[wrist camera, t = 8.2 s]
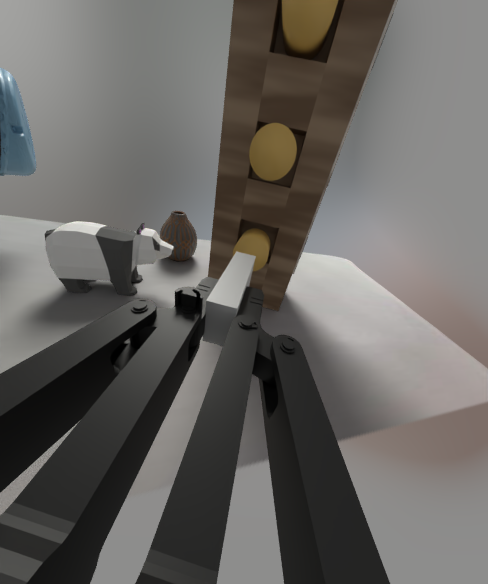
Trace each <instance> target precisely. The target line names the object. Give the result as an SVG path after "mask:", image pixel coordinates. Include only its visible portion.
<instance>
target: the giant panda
mask: <svg viewBox="0 0 488 584" xmlns="http://www.w3.org/2000/svg"><path fill="white" fill-rule="evenodd" d="M45 240H46V252H47V255H48V259H49V263H50V266H51V268H52V269H53V271H54V273H55V274H56V276H57V277H58V279H59V280H60V281H61V282H62V283H63V284H64V286H65V287H66V289H67V291H68V292H74V293H83V292H88V291H90V290H91V287H90V285H88V284H85V283H84V281H83V280H103V281H111V283H112V284H113V285H114V286H115V288H116V291H117V293H118V294H122V295H135V294H136V293H137V289H136V288H135V287H133V286H132V284H131V282H141V281H142V280H143V279H142V276H141V275H138V272H137V265H142V264H153V263H154V262H155V261H157V260H159V259H163V258H166V257H169V256H170V255H171V254H172V253H173V252H174V246H172V245H170V244H168V243H166V242H164V241H162V240H161V238H160V237H159V235H158V234H157V232H156V231H155V230H152V229H148V228H145V229H144V223H142V224H141V226H140V227H139V228H138V230H137V234H136V233H135V232H133V231H128V230H122V229H118V228H114V227H109V226H105V225H101V224H97V223H92V222H79V221H78V222H77V221H75V222H71V223H68V224H64V225H61V226H60V227H58V228H57V229H54V230H49V231H46V233H45Z"/></svg>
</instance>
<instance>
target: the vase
mask: <svg viewBox="0 0 488 584" xmlns="http://www.w3.org/2000/svg"><path fill="white" fill-rule="evenodd" d="M160 238H161V240H162V241H164V242H166V243H168V244H170V245H172V246H174V252H173V253H172V254H171V255H170V256H169V258H170V259H172V260H175V261H184V260H187V259H189V258H190V257H191V256H192V255H193V254H194V252H195V250H196V246H197V236H196V232H195V229H194V227H193V226H192V224H191V223H190V221H189V220H188V218H187V216H186V214H185V213H184V212H182V211H172V213H171V215H170V217H169V218H168V219H167V221H166V222H165V223H164V224H163V226H162V228H161V231H160Z"/></svg>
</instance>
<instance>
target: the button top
mask: <svg viewBox="0 0 488 584" xmlns="http://www.w3.org/2000/svg"><path fill="white" fill-rule="evenodd" d="M337 3H338V0H282V23H283V43H284V47H285V50H286V52H287V54H288V56H292V57H297V58H302V59H307V60H311V59H312V58H314V57H315V56H316V55H317V54H318V53H319V51H320V50H321V48H322V47H323V45H324V43H325V41H326V38H327V35H328V32H329V29H330V26H331V23H332V19H333V16H334V13H335V10H336V6H337Z"/></svg>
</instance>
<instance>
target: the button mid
mask: <svg viewBox="0 0 488 584" xmlns="http://www.w3.org/2000/svg"><path fill="white" fill-rule="evenodd" d="M296 153H297V146H296V140H295V137H294V135H293V133H292V132H291V130H290V129H289V128H288V127H286V126H285V125H283V124H280V123H270V124H267V125H265V126H264V127H262V128H261V129H260V130H259V131H258V132H257V133H256V134H255V136H254V138H253V140H252V142H251V146H250V152H249V157H250V163H251V166H252V168H253V170H254V172H255V173H256V174H257V175H258V176H259V177H260V178H262V179H264V180H268V181H273V180H278V179H280V178H282V177H283V176H285V175H286V174H287V173H288V172H289V171H290V169H291V168H292V166H293V164H294V161H295V158H296Z"/></svg>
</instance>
